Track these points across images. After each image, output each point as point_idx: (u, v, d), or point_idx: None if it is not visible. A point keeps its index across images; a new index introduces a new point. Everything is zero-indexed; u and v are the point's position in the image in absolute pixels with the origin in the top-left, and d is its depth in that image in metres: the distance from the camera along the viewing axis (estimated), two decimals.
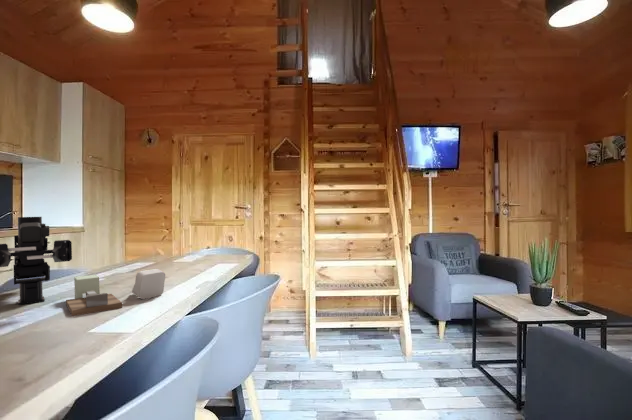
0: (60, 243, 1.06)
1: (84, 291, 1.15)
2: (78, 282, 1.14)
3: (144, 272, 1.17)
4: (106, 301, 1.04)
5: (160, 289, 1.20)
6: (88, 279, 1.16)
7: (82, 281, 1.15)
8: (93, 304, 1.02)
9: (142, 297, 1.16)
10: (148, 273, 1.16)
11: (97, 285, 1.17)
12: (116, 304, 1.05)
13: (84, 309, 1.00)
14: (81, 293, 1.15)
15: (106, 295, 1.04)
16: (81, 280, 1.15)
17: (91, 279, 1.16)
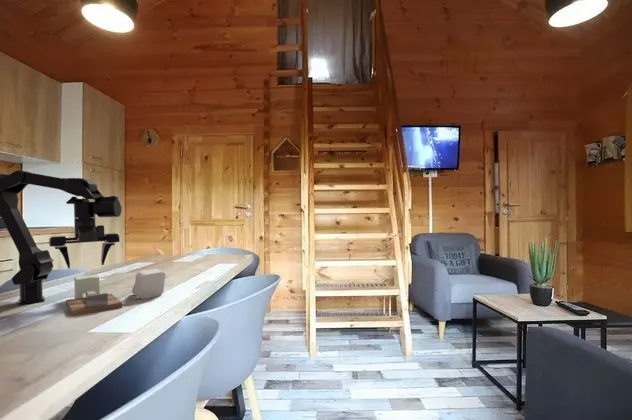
0: (109, 246, 1.21)
1: (84, 291, 1.15)
2: (78, 282, 1.14)
3: (144, 272, 1.17)
4: (106, 301, 1.04)
5: (160, 289, 1.20)
6: (88, 279, 1.16)
7: (82, 281, 1.15)
8: (93, 304, 1.02)
9: (142, 297, 1.16)
10: (148, 273, 1.16)
11: (97, 285, 1.17)
12: (116, 304, 1.05)
13: (84, 309, 1.00)
14: (81, 293, 1.15)
15: (106, 295, 1.04)
16: (81, 280, 1.15)
17: (91, 279, 1.16)
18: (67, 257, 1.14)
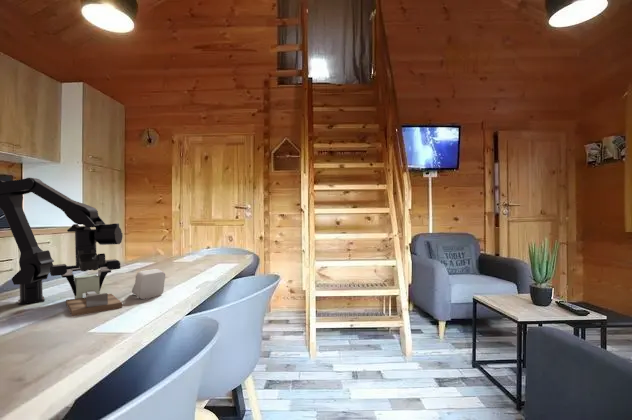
0: (105, 273, 1.20)
1: (84, 291, 1.15)
2: (78, 282, 1.14)
3: (144, 272, 1.17)
4: (106, 301, 1.04)
5: (160, 289, 1.20)
6: (88, 279, 1.16)
7: (82, 281, 1.15)
8: (93, 304, 1.02)
9: (142, 297, 1.16)
10: (148, 273, 1.16)
11: (97, 285, 1.17)
12: (116, 304, 1.05)
13: (84, 309, 1.00)
14: (81, 293, 1.15)
15: (106, 295, 1.04)
16: (81, 280, 1.15)
17: (91, 279, 1.16)
18: (73, 285, 1.15)
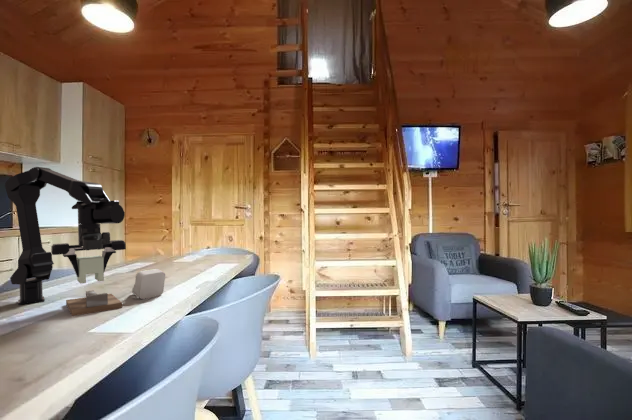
0: (110, 254, 1.13)
1: (87, 272, 1.08)
2: (81, 262, 1.07)
3: (144, 272, 1.17)
4: (106, 301, 1.04)
5: (160, 289, 1.20)
6: (92, 259, 1.09)
7: (85, 261, 1.08)
8: (93, 304, 1.02)
9: (142, 297, 1.16)
10: (148, 273, 1.16)
11: (101, 266, 1.10)
12: (116, 304, 1.05)
13: (84, 309, 1.00)
14: (84, 274, 1.08)
15: (106, 295, 1.04)
16: (84, 260, 1.08)
17: (95, 259, 1.09)
18: (76, 265, 1.08)
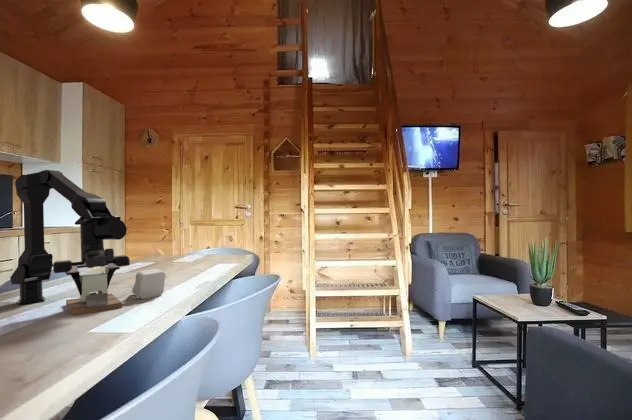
0: (114, 270, 1.10)
1: (91, 289, 1.05)
2: (84, 280, 1.04)
3: (144, 272, 1.17)
4: (106, 301, 1.04)
5: (160, 289, 1.20)
6: (95, 276, 1.06)
7: (88, 278, 1.05)
8: (93, 304, 1.02)
9: (142, 297, 1.16)
10: (148, 273, 1.16)
11: (105, 283, 1.07)
12: (116, 304, 1.05)
13: (84, 309, 1.00)
14: (87, 292, 1.04)
15: (106, 295, 1.04)
16: (87, 277, 1.05)
17: (98, 276, 1.06)
18: (79, 283, 1.05)
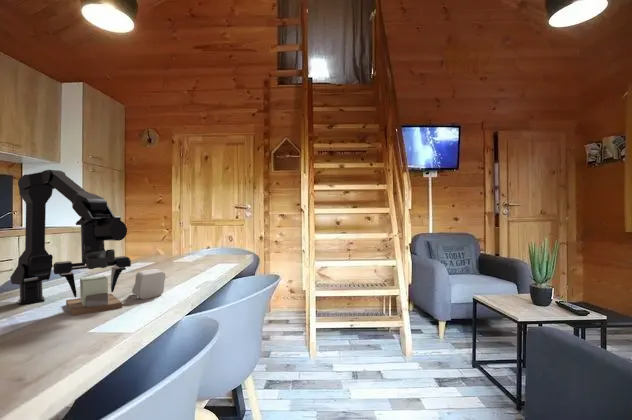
0: (120, 271, 1.09)
1: (91, 294, 1.04)
2: (84, 284, 1.03)
3: (144, 272, 1.17)
4: (106, 301, 1.04)
5: (160, 289, 1.20)
6: (95, 280, 1.04)
7: (89, 283, 1.03)
8: (93, 304, 1.02)
9: (142, 297, 1.16)
10: (148, 273, 1.16)
11: (105, 287, 1.06)
12: (116, 304, 1.05)
13: (84, 309, 1.00)
14: None
15: (106, 295, 1.04)
16: (88, 281, 1.03)
17: (99, 280, 1.05)
18: (73, 285, 1.03)
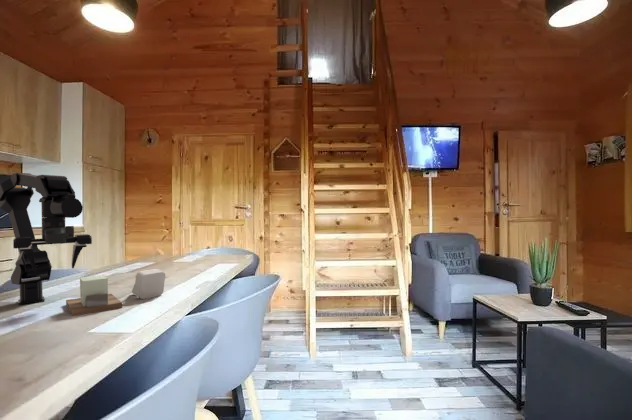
0: (80, 248, 1.12)
1: (91, 294, 1.04)
2: (84, 284, 1.03)
3: (144, 272, 1.17)
4: (106, 301, 1.04)
5: (160, 289, 1.20)
6: (95, 280, 1.04)
7: (89, 283, 1.03)
8: (93, 304, 1.02)
9: (142, 297, 1.16)
10: (148, 273, 1.16)
11: (105, 287, 1.06)
12: (116, 304, 1.05)
13: (84, 309, 1.00)
14: None
15: (106, 295, 1.04)
16: (88, 281, 1.03)
17: (99, 280, 1.05)
18: (33, 260, 1.06)
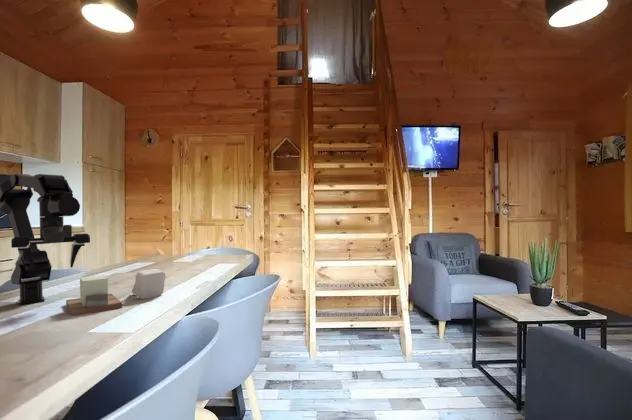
0: (79, 247, 1.12)
1: (91, 294, 1.04)
2: (84, 284, 1.03)
3: (144, 272, 1.17)
4: (106, 301, 1.04)
5: (160, 289, 1.20)
6: (95, 280, 1.04)
7: (89, 283, 1.03)
8: (93, 304, 1.02)
9: (142, 297, 1.16)
10: (148, 273, 1.16)
11: (105, 287, 1.06)
12: (116, 304, 1.05)
13: (84, 309, 1.00)
14: None
15: (106, 295, 1.04)
16: (88, 281, 1.03)
17: (99, 280, 1.05)
18: (31, 259, 1.06)
